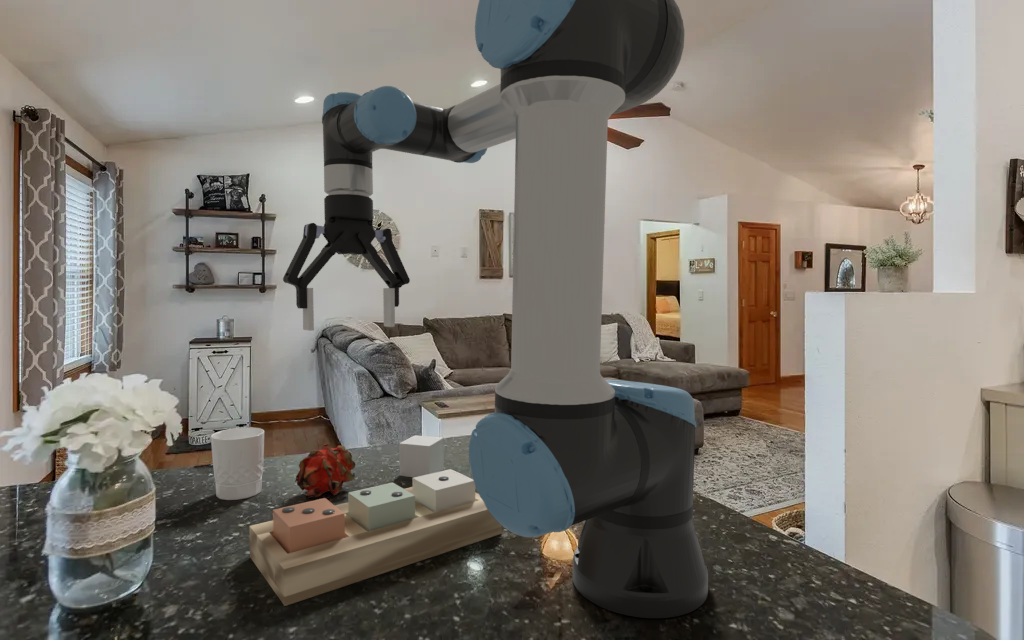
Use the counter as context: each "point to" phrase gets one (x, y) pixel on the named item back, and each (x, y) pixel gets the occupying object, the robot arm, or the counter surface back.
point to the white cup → (238, 462)
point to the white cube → (421, 456)
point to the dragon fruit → (325, 471)
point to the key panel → (367, 549)
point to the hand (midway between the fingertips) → (350, 328)
